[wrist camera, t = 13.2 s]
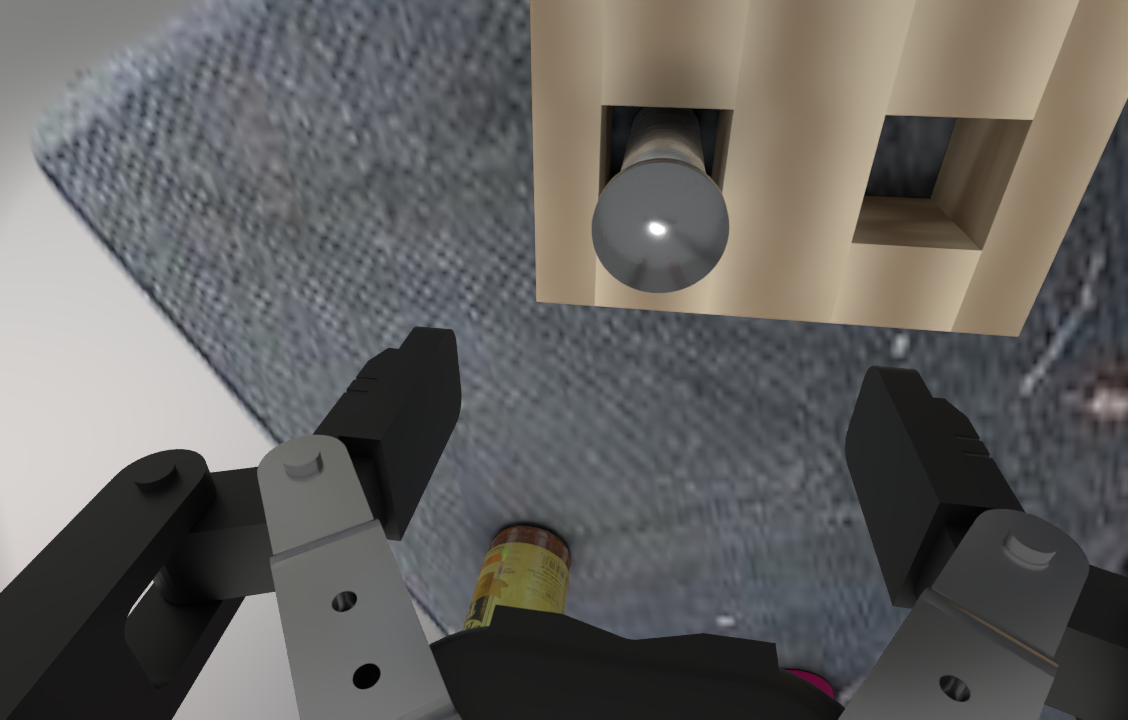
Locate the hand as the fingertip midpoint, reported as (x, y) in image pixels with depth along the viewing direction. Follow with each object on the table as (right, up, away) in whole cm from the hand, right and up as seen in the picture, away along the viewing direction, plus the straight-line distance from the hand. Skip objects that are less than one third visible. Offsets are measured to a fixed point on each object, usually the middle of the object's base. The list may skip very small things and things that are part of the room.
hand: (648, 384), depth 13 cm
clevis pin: (+3, +11, +17) cm, 20 cm away
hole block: (+8, +11, +16) cm, 21 cm away
